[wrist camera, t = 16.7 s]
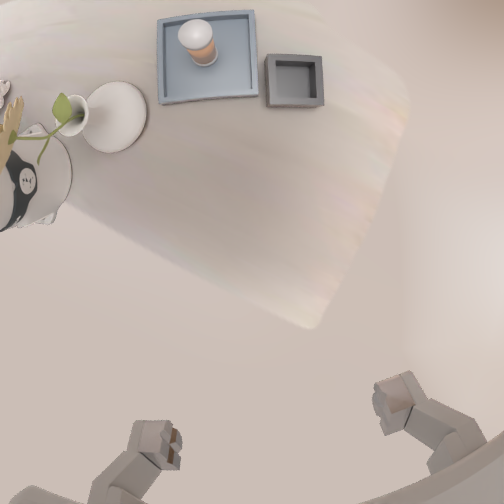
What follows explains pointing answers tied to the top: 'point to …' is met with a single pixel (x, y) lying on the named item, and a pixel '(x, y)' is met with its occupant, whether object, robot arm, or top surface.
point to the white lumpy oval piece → (3, 91)
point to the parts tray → (217, 75)
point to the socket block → (294, 80)
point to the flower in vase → (86, 119)
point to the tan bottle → (199, 42)
